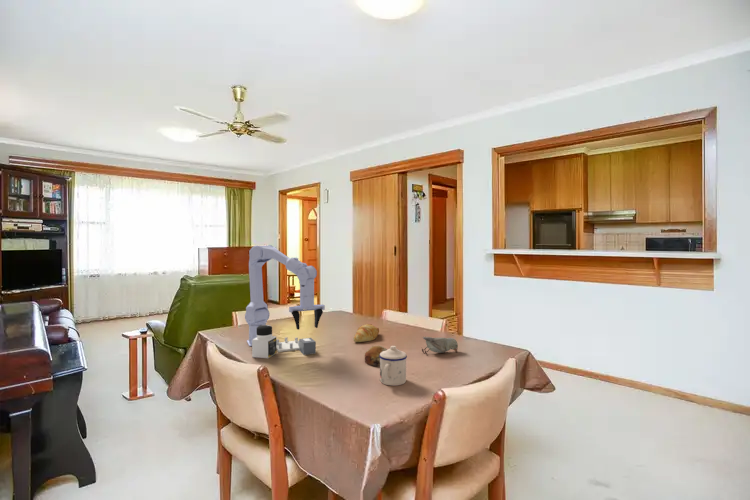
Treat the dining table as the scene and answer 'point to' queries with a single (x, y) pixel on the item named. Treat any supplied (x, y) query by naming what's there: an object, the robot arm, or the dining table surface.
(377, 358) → the bread roll
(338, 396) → the dining table surface
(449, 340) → the decorative bird
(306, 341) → the block
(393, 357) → the teacup with lid
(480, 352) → the dining table surface
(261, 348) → the medicine bottle
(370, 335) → the croissant
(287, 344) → the white peg board
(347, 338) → the dining table surface
